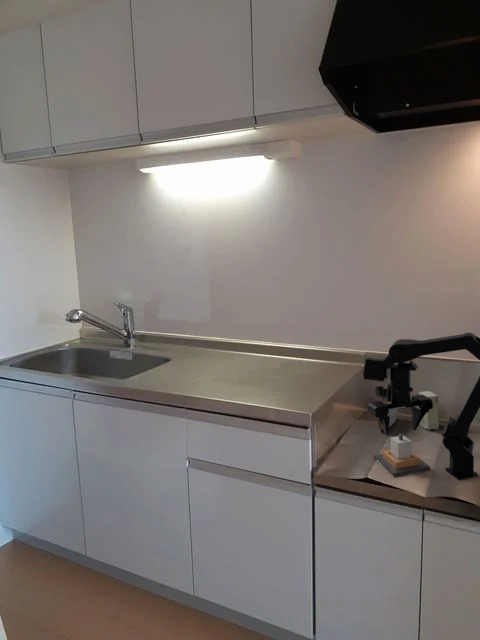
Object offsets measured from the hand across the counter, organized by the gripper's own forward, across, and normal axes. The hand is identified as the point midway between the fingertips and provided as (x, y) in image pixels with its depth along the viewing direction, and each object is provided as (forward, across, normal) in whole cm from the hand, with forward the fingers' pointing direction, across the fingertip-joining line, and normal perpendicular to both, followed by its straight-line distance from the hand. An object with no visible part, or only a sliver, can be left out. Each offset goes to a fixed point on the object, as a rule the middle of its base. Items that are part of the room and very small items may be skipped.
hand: (400, 432), depth 156 cm
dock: (+10, 0, 0) cm, 10 cm away
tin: (+10, -11, -27) cm, 31 cm away
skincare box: (+10, -23, -21) cm, 33 cm away
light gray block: (+9, 0, 0) cm, 9 cm away
